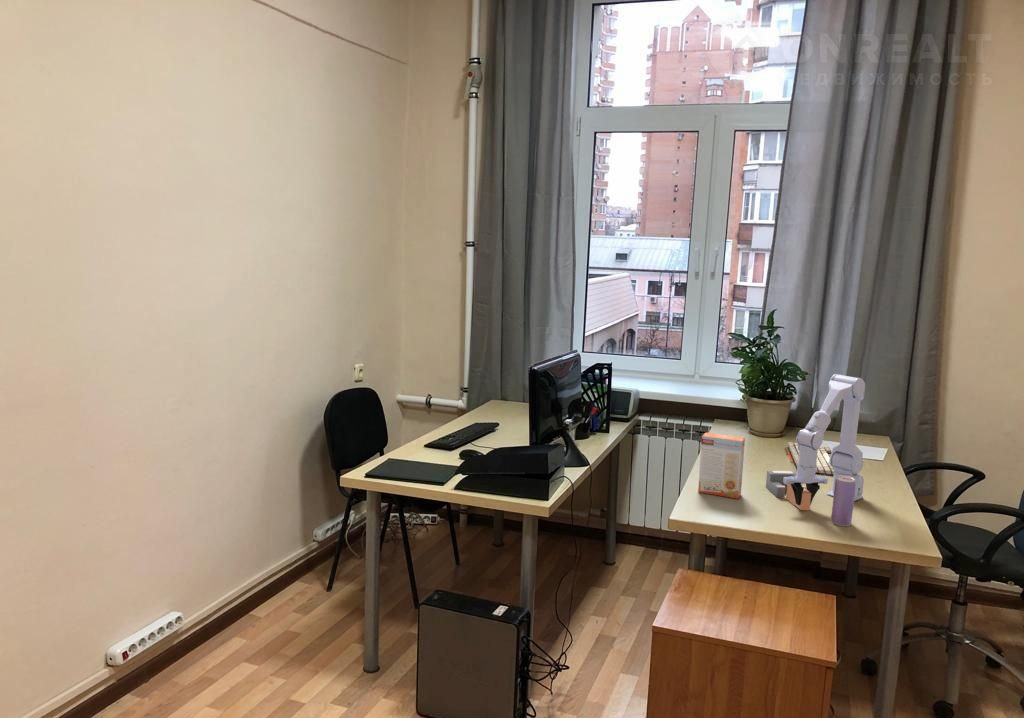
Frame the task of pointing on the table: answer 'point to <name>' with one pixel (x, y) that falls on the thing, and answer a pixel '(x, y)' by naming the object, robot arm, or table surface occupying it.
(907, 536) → the table surface
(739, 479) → the cracker box
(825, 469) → the mechanical keyboard
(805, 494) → the salmon long block
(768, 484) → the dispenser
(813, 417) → the robot arm
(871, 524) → the table surface
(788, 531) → the table surface
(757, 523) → the table surface
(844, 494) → the beverage can
